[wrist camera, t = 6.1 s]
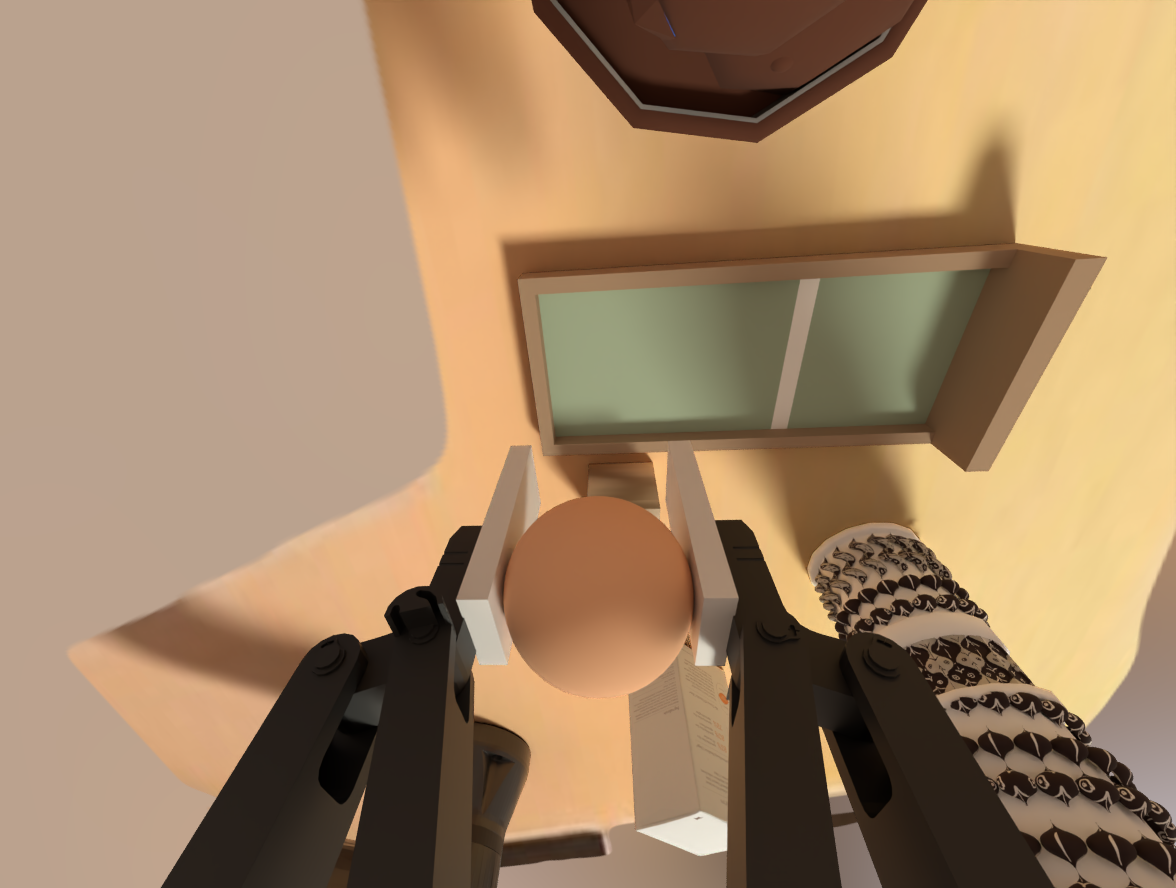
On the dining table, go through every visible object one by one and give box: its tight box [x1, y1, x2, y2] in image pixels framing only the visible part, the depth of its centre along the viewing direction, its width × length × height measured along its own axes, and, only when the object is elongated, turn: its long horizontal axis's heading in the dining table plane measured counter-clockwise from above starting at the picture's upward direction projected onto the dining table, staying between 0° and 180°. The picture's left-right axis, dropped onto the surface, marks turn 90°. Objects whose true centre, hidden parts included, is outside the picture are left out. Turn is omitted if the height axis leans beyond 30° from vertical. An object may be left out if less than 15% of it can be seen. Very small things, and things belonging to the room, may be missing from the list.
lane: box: [517, 243, 1107, 472], centre depth 23 cm, size 25×11×4 cm, turn 94°
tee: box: [587, 462, 660, 520], centre depth 28 cm, size 4×4×5 cm
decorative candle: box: [807, 523, 1176, 888], centre depth 23 cm, size 9×9×25 cm
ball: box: [503, 496, 694, 699], centre depth 11 cm, size 5×5×5 cm
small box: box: [629, 644, 729, 856], centre depth 37 cm, size 8×6×13 cm
